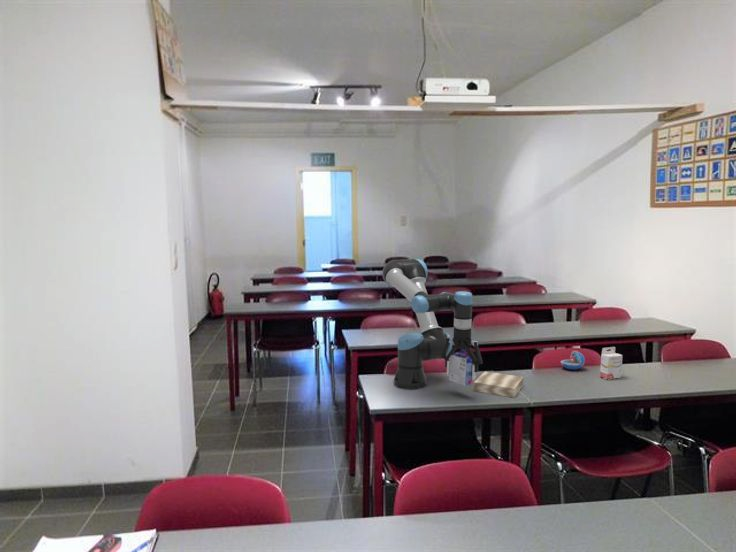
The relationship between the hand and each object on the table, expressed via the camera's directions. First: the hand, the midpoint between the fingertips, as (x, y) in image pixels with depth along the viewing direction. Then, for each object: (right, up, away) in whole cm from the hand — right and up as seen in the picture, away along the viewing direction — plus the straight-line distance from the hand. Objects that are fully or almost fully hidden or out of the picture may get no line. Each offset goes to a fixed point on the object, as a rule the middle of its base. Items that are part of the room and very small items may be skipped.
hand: (461, 376), depth 214 cm
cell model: (+64, -4, +37) cm, 74 cm away
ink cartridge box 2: (+77, -6, +23) cm, 80 cm away
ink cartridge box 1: (0, -3, 0) cm, 3 cm away
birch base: (+19, -7, +9) cm, 22 cm away
